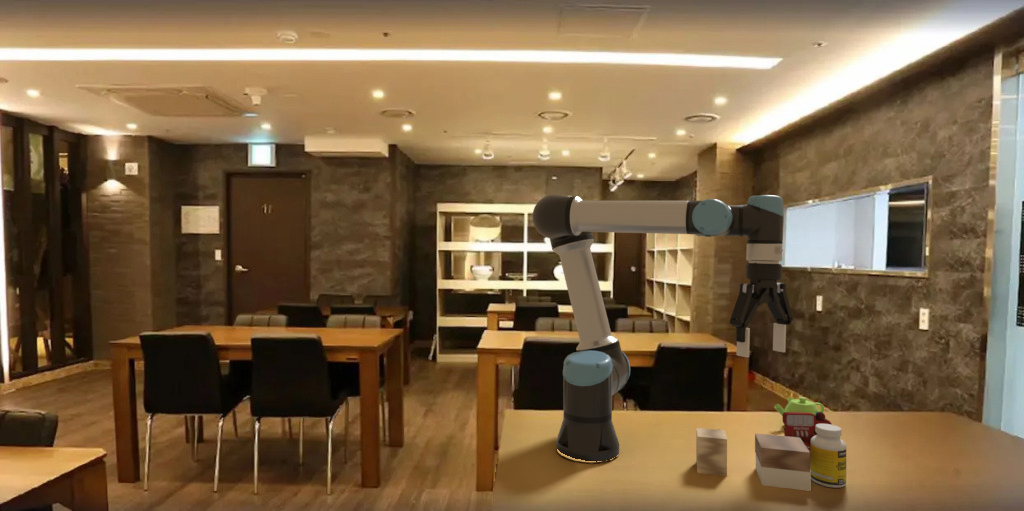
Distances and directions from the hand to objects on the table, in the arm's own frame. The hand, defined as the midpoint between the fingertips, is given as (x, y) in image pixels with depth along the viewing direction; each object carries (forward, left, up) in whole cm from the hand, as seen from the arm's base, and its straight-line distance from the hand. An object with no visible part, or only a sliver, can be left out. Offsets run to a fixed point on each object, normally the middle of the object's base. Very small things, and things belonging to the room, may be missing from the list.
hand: (761, 353), depth 122 cm
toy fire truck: (+11, +6, -25) cm, 28 cm away
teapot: (+13, +27, -25) cm, 39 cm away
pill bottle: (+11, -9, -25) cm, 29 cm away
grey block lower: (+3, -10, -25) cm, 27 cm away
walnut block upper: (+2, -10, -21) cm, 23 cm away
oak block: (-12, -9, -25) cm, 29 cm away
